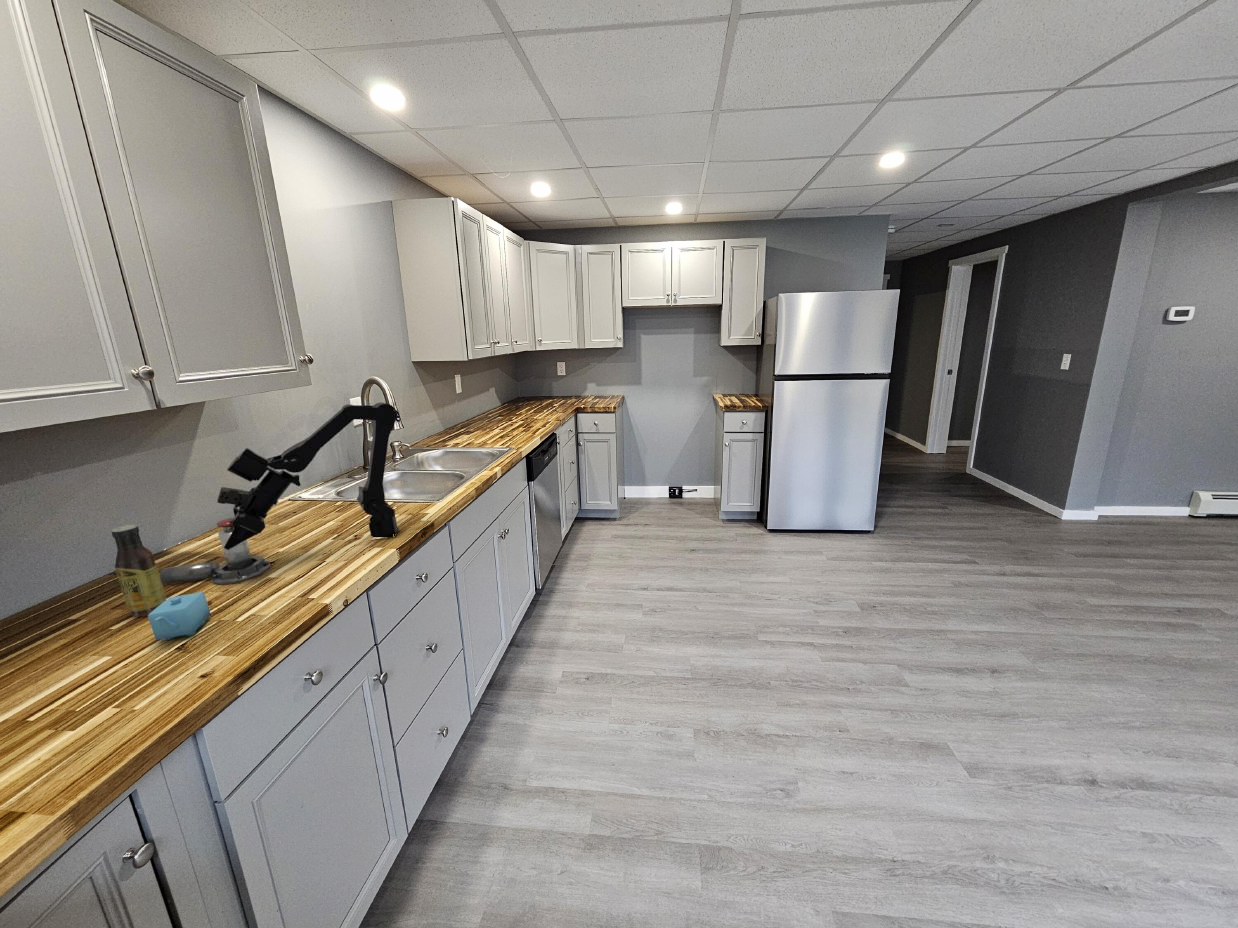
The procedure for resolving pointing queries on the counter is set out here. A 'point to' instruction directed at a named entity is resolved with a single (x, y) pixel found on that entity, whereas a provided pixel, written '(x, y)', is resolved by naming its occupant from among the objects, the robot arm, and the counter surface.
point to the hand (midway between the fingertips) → (226, 543)
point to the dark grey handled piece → (214, 572)
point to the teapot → (179, 616)
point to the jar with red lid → (234, 548)
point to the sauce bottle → (137, 572)
